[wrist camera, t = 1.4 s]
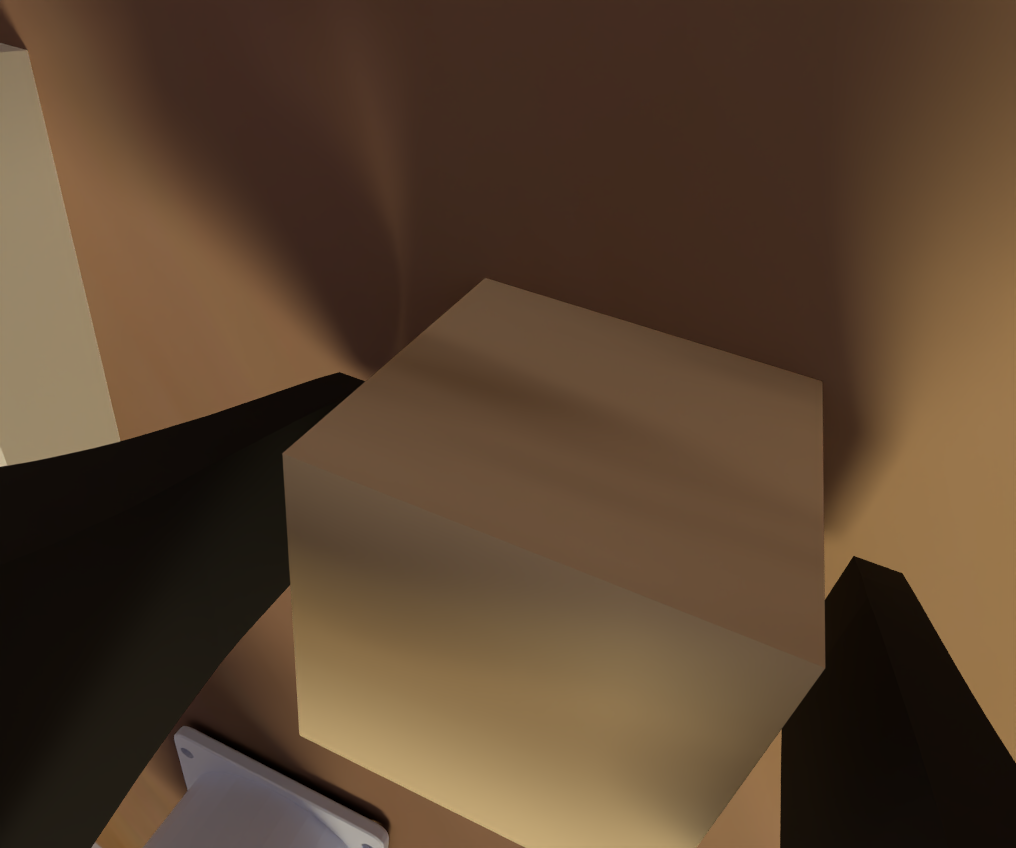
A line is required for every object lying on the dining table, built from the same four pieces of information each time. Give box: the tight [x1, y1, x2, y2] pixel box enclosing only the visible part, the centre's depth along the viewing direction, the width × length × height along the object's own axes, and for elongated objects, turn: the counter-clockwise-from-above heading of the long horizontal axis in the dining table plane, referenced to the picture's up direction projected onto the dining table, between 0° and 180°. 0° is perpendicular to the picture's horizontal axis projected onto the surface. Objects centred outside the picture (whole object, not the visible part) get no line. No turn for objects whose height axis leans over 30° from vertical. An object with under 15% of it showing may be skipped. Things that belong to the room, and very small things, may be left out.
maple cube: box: [282, 278, 825, 848], centre depth 9 cm, size 5×5×5 cm
